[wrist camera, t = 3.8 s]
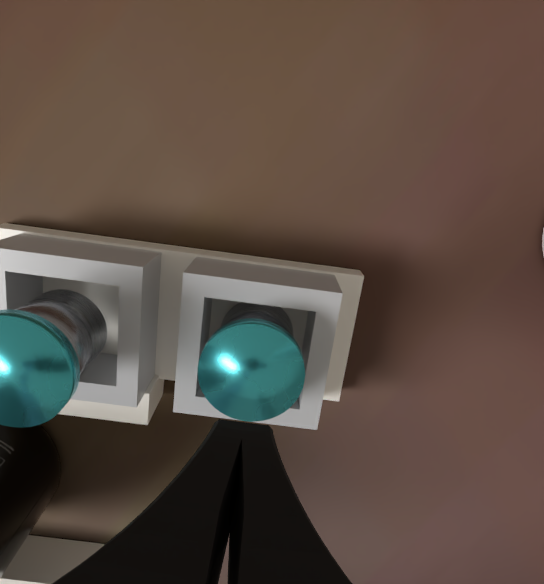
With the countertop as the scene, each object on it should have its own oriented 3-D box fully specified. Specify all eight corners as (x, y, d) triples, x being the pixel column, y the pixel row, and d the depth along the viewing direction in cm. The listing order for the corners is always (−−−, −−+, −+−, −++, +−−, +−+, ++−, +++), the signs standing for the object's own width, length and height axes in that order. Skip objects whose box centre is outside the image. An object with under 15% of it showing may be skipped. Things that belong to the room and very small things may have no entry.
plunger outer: (293, 377, 19) (296, 427, 15) (209, 366, 19) (193, 414, 15) (306, 297, 18) (312, 332, 14) (217, 286, 18) (202, 318, 14)
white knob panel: (297, 587, 24) (299, 657, 21) (-89, 542, 24) (-150, 606, 20) (359, 270, 19) (377, 295, 15) (-140, 203, 18) (-233, 214, 15)
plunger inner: (114, 377, 17) (71, 434, 13) (19, 365, 17) (-47, 419, 13) (116, 288, 16) (70, 325, 12) (15, 275, 16) (-59, 308, 12)
